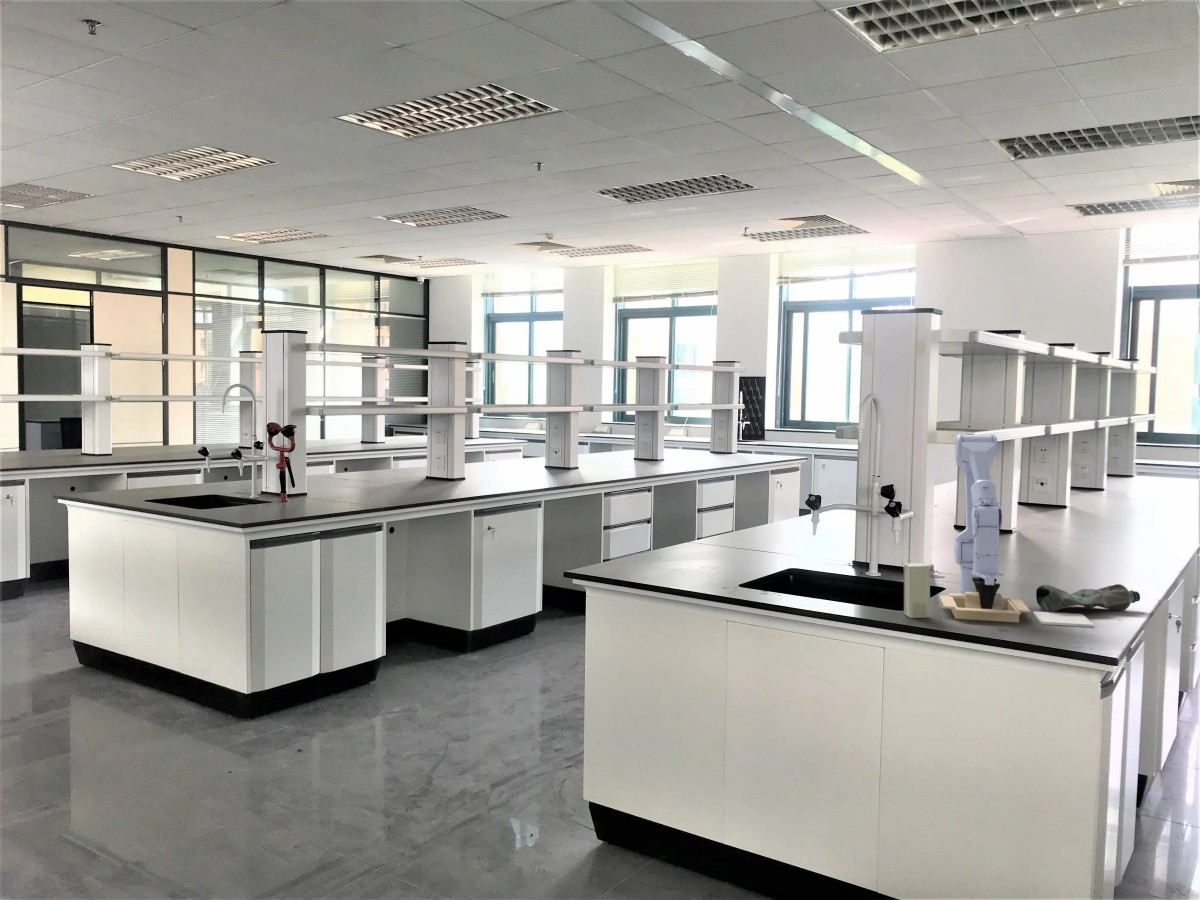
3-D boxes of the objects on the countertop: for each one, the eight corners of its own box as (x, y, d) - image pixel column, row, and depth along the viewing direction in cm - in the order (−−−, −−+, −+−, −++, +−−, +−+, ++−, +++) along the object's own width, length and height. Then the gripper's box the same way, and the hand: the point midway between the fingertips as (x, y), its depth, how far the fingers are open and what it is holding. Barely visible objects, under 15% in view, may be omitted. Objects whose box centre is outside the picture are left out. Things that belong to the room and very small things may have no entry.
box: (923, 614, 220) (924, 562, 220) (930, 618, 216) (931, 565, 215) (902, 614, 220) (903, 562, 220) (909, 618, 216) (909, 566, 215)
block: (964, 611, 223) (965, 591, 223) (999, 613, 221) (999, 593, 221) (966, 614, 220) (966, 594, 219) (1001, 616, 217) (1002, 596, 217)
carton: (938, 603, 232) (938, 592, 232) (1018, 607, 227) (1018, 597, 227) (945, 620, 214) (945, 608, 214) (1032, 625, 209) (1032, 613, 208)
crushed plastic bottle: (1051, 616, 217) (1155, 615, 217) (1050, 587, 218) (1153, 585, 217) (1027, 609, 230) (1124, 607, 230) (1026, 581, 231) (1123, 579, 230)
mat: (1033, 613, 220) (1033, 611, 220) (1082, 616, 217) (1082, 614, 217) (1041, 624, 210) (1042, 621, 210) (1093, 627, 207) (1093, 624, 207)
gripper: (1008, 559, 212) (1007, 616, 212) (999, 550, 225) (998, 603, 226) (976, 558, 213) (975, 614, 214) (969, 549, 227) (968, 601, 228)
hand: (985, 608), depth 220 cm, fingers closed on block, 4 cm apart
